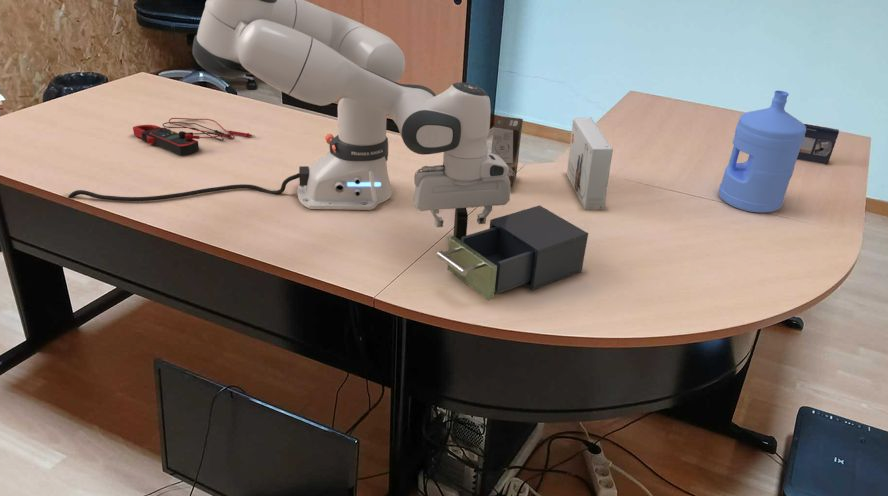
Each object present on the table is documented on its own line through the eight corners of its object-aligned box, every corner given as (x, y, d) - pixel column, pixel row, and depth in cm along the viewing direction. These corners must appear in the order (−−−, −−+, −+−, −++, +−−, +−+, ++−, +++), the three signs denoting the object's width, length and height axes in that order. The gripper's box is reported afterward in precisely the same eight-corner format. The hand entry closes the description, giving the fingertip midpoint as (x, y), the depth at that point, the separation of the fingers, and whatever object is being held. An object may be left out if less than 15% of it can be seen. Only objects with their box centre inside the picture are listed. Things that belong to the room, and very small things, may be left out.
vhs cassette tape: (761, 152, 217) (771, 120, 212) (761, 149, 219) (771, 117, 214) (827, 165, 212) (839, 132, 206) (827, 161, 214) (839, 129, 209)
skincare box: (563, 174, 194) (572, 116, 186) (584, 174, 195) (593, 117, 186) (582, 210, 177) (593, 147, 168) (604, 210, 177) (616, 148, 169)
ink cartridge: (465, 248, 157) (468, 215, 153) (455, 248, 157) (457, 214, 153) (463, 237, 161) (466, 204, 157) (453, 237, 161) (455, 204, 157)
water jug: (780, 194, 192) (814, 89, 177) (782, 219, 179) (819, 107, 164) (718, 183, 196) (747, 79, 181) (716, 206, 183) (747, 96, 168)
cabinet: (532, 290, 144) (538, 250, 139) (486, 258, 154) (490, 219, 149) (581, 272, 152) (588, 233, 147) (534, 242, 161) (539, 205, 156)
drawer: (468, 308, 136) (471, 275, 132) (427, 276, 145) (428, 243, 141) (537, 282, 145) (542, 250, 141) (495, 253, 154) (498, 222, 150)
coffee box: (512, 192, 183) (519, 130, 174) (486, 188, 184) (492, 127, 175) (516, 178, 190) (523, 118, 182) (492, 174, 191) (498, 114, 183)
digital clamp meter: (183, 145, 184) (123, 120, 196) (185, 162, 186) (126, 136, 198) (255, 122, 200) (196, 100, 212) (256, 138, 203) (198, 115, 214)
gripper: (418, 173, 144) (416, 235, 151) (516, 167, 149) (509, 227, 156) (411, 160, 149) (409, 221, 156) (505, 155, 154) (499, 214, 162)
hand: (460, 224), depth 156 cm, fingers open, 8 cm apart
